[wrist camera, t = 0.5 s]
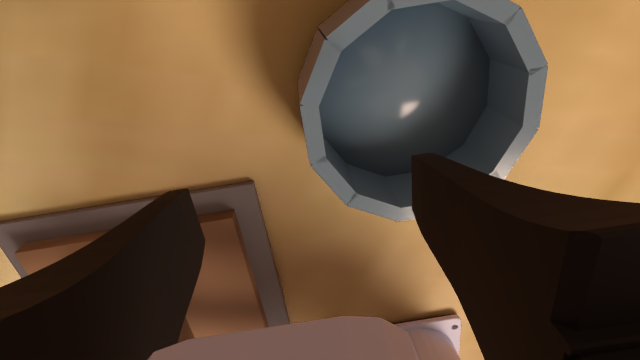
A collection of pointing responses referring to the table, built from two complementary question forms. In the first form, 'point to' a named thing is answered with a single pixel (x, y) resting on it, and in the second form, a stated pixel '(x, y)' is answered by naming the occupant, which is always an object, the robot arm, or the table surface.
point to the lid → (212, 284)
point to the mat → (111, 215)
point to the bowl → (418, 94)
